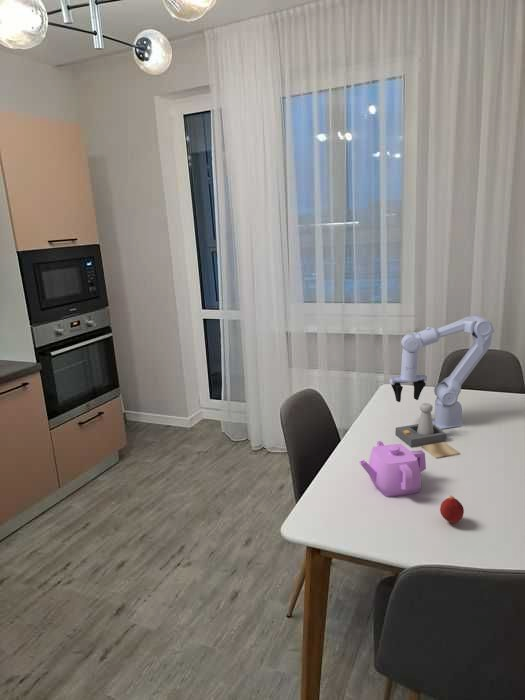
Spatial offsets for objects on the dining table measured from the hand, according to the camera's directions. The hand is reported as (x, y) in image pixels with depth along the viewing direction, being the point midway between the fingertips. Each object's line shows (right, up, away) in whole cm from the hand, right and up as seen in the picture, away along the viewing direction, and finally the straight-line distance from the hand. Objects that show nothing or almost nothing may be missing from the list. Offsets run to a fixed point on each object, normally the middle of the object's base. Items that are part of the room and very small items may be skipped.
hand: (407, 400), depth 188 cm
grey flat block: (+2, -13, -9) cm, 16 cm away
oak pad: (+6, -16, -19) cm, 25 cm away
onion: (-5, -27, -58) cm, 64 cm away
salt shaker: (+4, -13, -8) cm, 16 cm away
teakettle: (-16, -22, -37) cm, 46 cm away
